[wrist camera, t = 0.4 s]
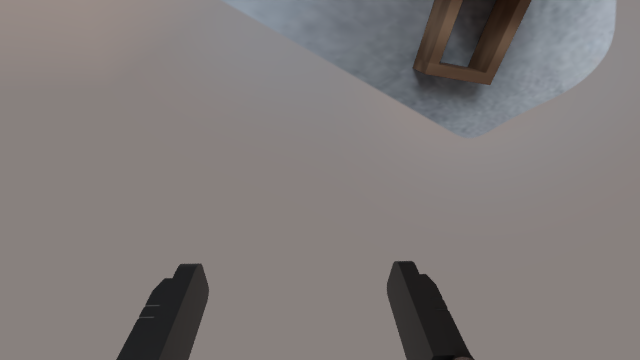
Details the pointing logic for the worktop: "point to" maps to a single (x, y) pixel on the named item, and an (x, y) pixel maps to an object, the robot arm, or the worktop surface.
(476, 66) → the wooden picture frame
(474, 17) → the worktop surface
